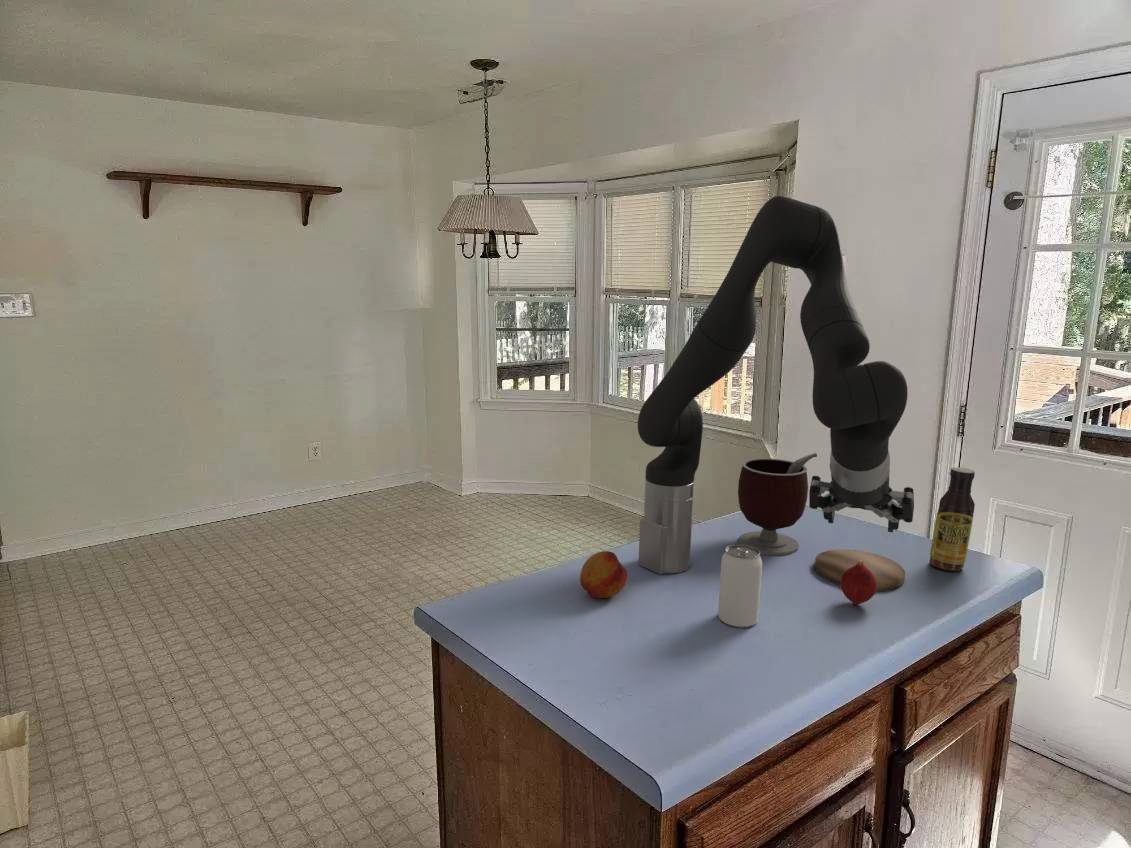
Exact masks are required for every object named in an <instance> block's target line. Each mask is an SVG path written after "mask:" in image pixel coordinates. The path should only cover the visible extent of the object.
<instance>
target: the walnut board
mask: <svg viewBox="0 0 1131 848" xmlns="http://www.w3.org/2000/svg"><path fill="white" fill-rule="evenodd" d="M859 560H861V561H863V562H864V566H865V567H866V568H868V569H869V570H870V571H871V572H872V573H873V575H874V576H875V579H876V584H877V588H876V592H880V591H881V592H882V591H883V592H885V591H891V590H895V589H898V588H900V587H901V586H903V585H904V583H905V578H906V571H905V569H904V567H903V566H901V565H900V564H899V563H898V562H896V561H894V560H892V559H890V558H887V557H886V556H883V555H879V554H877V553H872V552H867V551H862V550H856V549H832V550H826V551H823V552H820V553H818V554H817V555H815V561H814V569H815V572H816V573H817V574H819V576H820V577H822V578H824V579H825V580H827V581H830V582H831V583H833V584H836V585H839V586H841V585H840V583H841V577H842V575H843V573H844V572H845V571H846V570H847V569H849V568H851V567H853V566H855V565H857V563H858V561H859Z"/></svg>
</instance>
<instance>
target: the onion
mask: <svg viewBox="0 0 1131 848" xmlns="http://www.w3.org/2000/svg"><path fill="white" fill-rule="evenodd" d="M839 586H840V589H841V591H842V594H843V595H844V596H845V598H846V599H848V600H849V601H850V602H851V603H852V604H853V605H856V606H857V605H861V604H864V603H866V602H868V601H869V600H871V599H873V597H874V596H875V594H876V592H877V591H876V588H877V584H876V579H875V576H874V575H873V573H872V572H871V571H870V570H869V569H868V568H866V567H865V566H864V562H863V561H861V560H859V561H858V563H857V565H855V566H853V567H851V568H849V569H847V570H846V571H845V572H844V573H843V575H842V577H841V583H840V585H839Z"/></svg>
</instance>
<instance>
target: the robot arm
mask: <svg viewBox="0 0 1131 848" xmlns="http://www.w3.org/2000/svg"><path fill="white" fill-rule="evenodd" d="M771 263H774V264H777V265H781V266H783V267H784V266H785V267H788V268H791V269H797V270H798V269H800V270H801V271H802V272H803V273H804V275H805V276H806V277H807V279H808V281H809V283H810V286H809V289H808V290H807V292H806V294H805V296H804V299H803V301H802V304H801V307H800V314H799V315H800V317H799V318H800V319H799V320H800V325H801V331H802V333H803V336H804V337H805V341H806V344H807V347H808V350H809V353H810V355H811V360H812V365H813V368H812V369H813V383H812V407H813V412H814V415H815V417H816V418H817V419H818V421H819V422H820V423H821V424H822V425H823V426H825V427H827V428H828V429H830V432H829V433H830V436H829V437H830V438H829V439H830V447H831V448H830V457H829V471H830V476H831V478H830V479H831V481H830V482H828V481H827V482H826V481H822V480H821V477H820V476H818V475H812V476H811V481H810V486H809V489H808V495H809V499H808V500H809V501H808V502H809V504H808V505H809V508H810V509H813V510H817V509H818V508H819V509H821V511H822V514H823V519H824V520H827V522H828V523H827V524H834V521H835V517H836V516H835V515H836V512H838V511H841V510H843V509H846V508H850V509H861V510H865V511H870V512H872V513H874V514H876V515H877V516H878V517H880V518H885V519H886V520H888V522H887V523H888V524H887V532H888V533H894V530H895V531H897V530H899V526H900V521H903V522H904V523H912V522H913V519H914V518H913V517H914V511H915V510H914V509H915V496H914V495H915V493H914V488H912V487H909V486H906V487H903V491H897V490H893V489H892V487H890V472H891V470H890V469H891V468H890V467H891V455H890V451H889V443H890V442H889V441H890V440H889V439H890V438H891V435H892V433H893V432H894V430H895V429H896V427H897V426H898V424H899V422H900V420H901V418H902V417H903V414H904V413H905V409H906V407H907V402H908V395H909V394H908V385H907V381H906V378H905V375H904V373H903V372H902V371H901V370H900V368H899V367H897V366H896V365H895V364H893V363H891V362H889V361H883V360H877V361H871V362H868V363H863V362H864V361H865V359H867V357H868V355H869V353H870V349H871V348H870V347H871V346H870V340H869V337H868V335H867V332H866V330H865V328H864V325H863V323H862V321H861V318H860V315H859V313H858V311H857V309H856V307H855V305H854V302H853V300H852V297H851V293H850V289H849V286H848V281H847V275H846V270H845V269H846V268H845V262H844V258H843V252H842V248H841V241H840V235H839V232H838V227H837V225H836V222H835V219H834V218H833V216H832V214H831V213H830V212H829V211H827V210H826V209H824V208H822V207H820V206H816V205H813V204H810V203H807V202H804V201H800V200H797V199H794V198H791V197H788V196H784V195H783V196H782V195H781V196H780V195H776V196H773V197H771V198H770V199H768V200H767V201H766V202H765V203H764V204H763V206H761V208H760V209H759V211H758V212H757V214H756V215H755V217H754V219H753V221H752V223H751V225H750V227H749V229H748V231H747V232H746V234H745V237H744V239H743V241H742V243H741V245H740V247H739V249H738V252H737V254H736V255H735V257H734V259H733V262H732V264H731V266H730V267H729V270H728V272H727V274H726V276H725V277H724V279H723V281H722V282H721V284H720V286H719V288H718V289H717V291H716V292H715V294H714V296H713V298H712V300H711V301H710V302H709V305H708V306H707V308H706V309H705V310H704V312H703V314H702V315H701V317H700V318H699V320H698V321H697V322H696V324H695V326H694V328H693V330H692V331H691V334H690V335H689V337H688V338H687V340H686V343H685V345H684V346H683V348H682V349H681V351H680V352H679V353H678V356H677V357H676V358H675V360H674V362H673V363H672V365H671V366H670V368H669V370H668V371H667V373H666V374H665V375H664V377H663V378H662V380H660V382H659V383H658V384H657V386H656V387H655V388H654V390H653V391H652V392H651V393H650V394H649V396H648V397H647V399H646V400H645V402H644V403H643V405H642V406H641V408H640V411H639V414H638V416H637V417H638V418H637V431H638V435H639V437H640V439H641V440H642V442H643V443H644V444H646V445H648V446H649V447H650V446H651V447H654V448H664V449H663V451H662V452H661V453H660V454H659V455H658V456H657V457H655V458H654V459H651V460H650V462H648V463H647V465H646V466H645V481H644V483H645V484H644V504H643V517H641V518H640V519H639V534H638V535H639V539H638V540H639V541H638V542H639V543H638V565H639V566H640V567H643V568H645V569H647V570H650V571H651V572H654V573H656V574H659V575H663V574H677V573H682V572H685V571H687V570H689V568H690V566H691V565H690V564H691V547H692V546H691V544H692V542H691V541H692V527H693V526H692V524H693V505H694V492H695V475H696V472H697V470H698V467H699V466H700V465H699V464H700V459H701V458H700V457H701V447H702V440H703V439H702V438H703V431H704V430H703V428H704V427H703V425H704V418H703V412H702V409H701V407H700V404H699V402H698V401H697V400H696V399H695V398H697V396H699V395H700V394H701V393H703V392H704V391H705V390H707V389H709V388H711V386H714V384H716V383H717V382H719V381H720V380H721V379H722V378H724V377H725V376H726V375H727V374H728V373H730V372H731V371H732V370H733V369H734V368H735V366H736V365H737V364H738V363H739V362H740V360H741V359H742V357H743V355H744V354H745V353H746V351H747V350H748V348H749V347H750V345H751V344H752V342H753V341H754V338H755V336H756V331H757V314H756V313H757V312H756V311H757V310H756V301H755V300H756V299H755V298H756V297H755V295H756V293H755V292H756V287H757V284H758V282H759V280H760V278H761V275H762V273H763V272H764V270H765V269H766V267H767V266H768V265H769V264H771ZM861 363H863V364H861ZM825 492H828V494H827V493H826V494H825V495H824V493H825ZM822 494H823V495H824V496H823V495H822Z"/></svg>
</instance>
